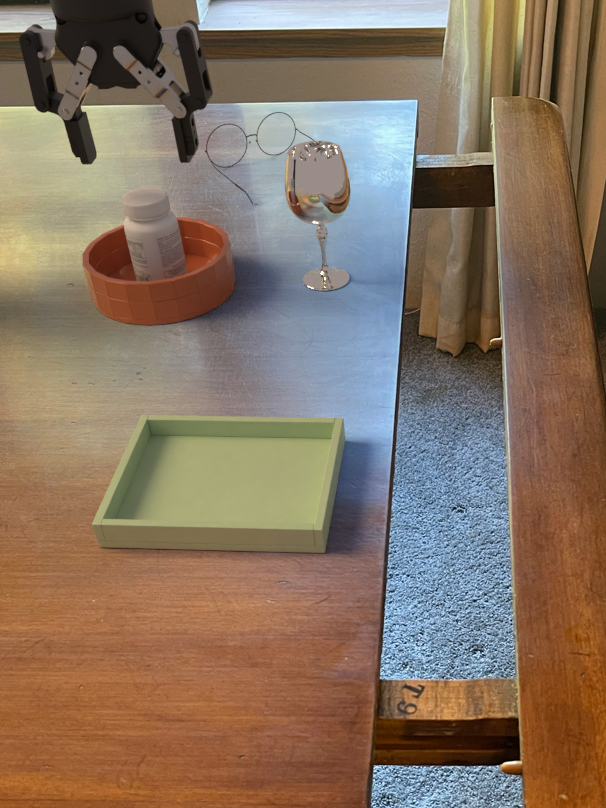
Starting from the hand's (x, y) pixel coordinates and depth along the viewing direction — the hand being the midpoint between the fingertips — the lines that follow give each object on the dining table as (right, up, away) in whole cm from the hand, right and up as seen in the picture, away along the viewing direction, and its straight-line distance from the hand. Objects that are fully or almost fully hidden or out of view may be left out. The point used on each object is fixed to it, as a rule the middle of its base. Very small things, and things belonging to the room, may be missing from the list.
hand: (138, 160), depth 81 cm
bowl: (0, -9, +8) cm, 12 cm away
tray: (+10, -29, -14) cm, 34 cm away
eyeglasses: (+8, +9, +27) cm, 29 cm away
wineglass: (+15, -8, +9) cm, 19 cm away
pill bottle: (0, -9, +8) cm, 12 cm away
